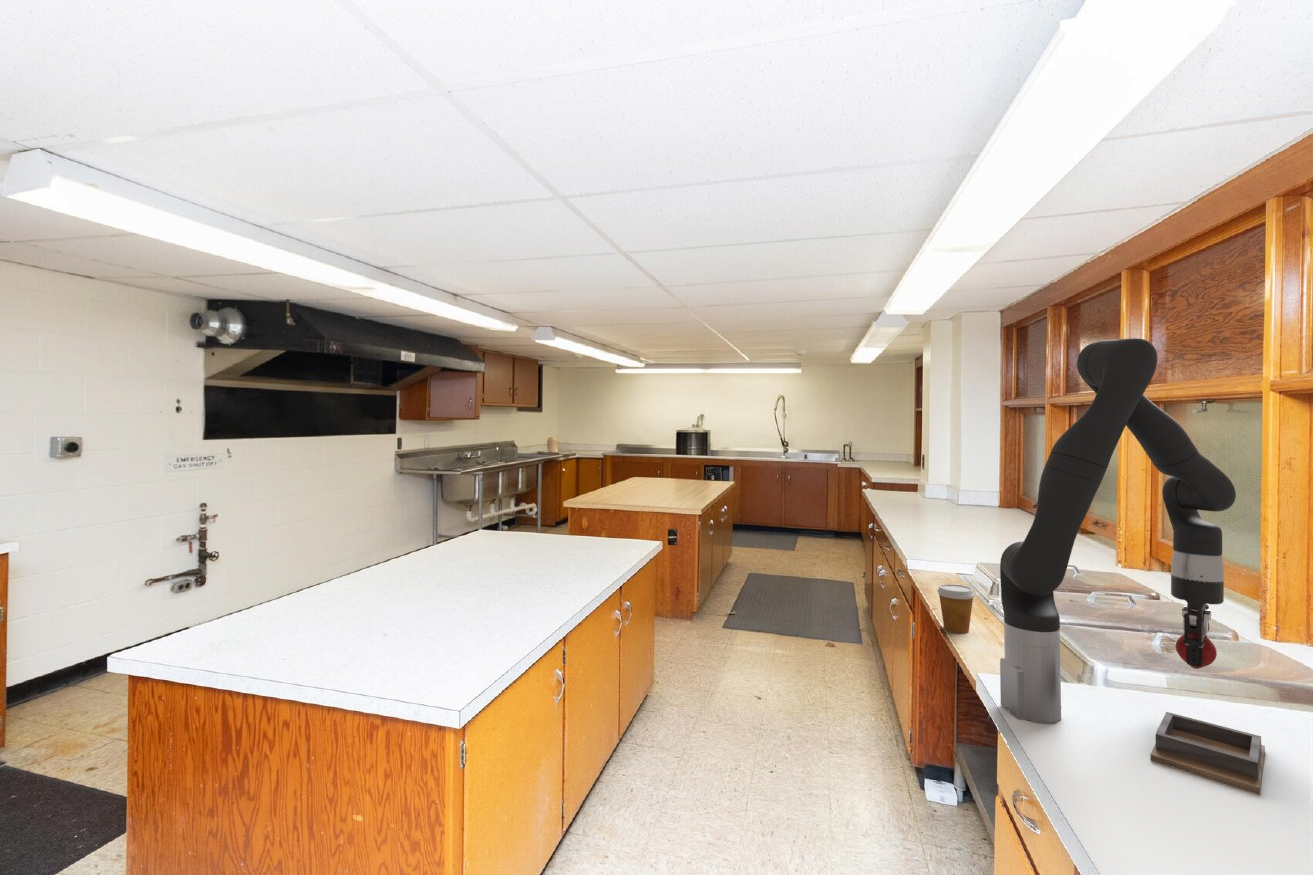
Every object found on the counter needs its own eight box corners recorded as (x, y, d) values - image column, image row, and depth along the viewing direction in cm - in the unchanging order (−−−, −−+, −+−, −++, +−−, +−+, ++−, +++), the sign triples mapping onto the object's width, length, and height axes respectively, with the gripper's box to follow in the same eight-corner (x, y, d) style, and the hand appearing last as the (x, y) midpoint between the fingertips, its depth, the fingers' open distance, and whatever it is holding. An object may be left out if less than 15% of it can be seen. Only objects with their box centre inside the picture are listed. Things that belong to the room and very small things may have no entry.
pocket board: (1260, 794, 86) (1259, 771, 86) (1150, 760, 95) (1150, 739, 95) (1264, 751, 98) (1264, 731, 98) (1166, 724, 107) (1166, 706, 107)
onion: (1224, 676, 108) (1225, 633, 108) (1189, 673, 109) (1190, 631, 109) (1201, 664, 114) (1202, 624, 114) (1168, 661, 115) (1168, 622, 115)
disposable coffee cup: (976, 628, 164) (975, 586, 164) (974, 637, 156) (973, 593, 156) (939, 622, 169) (939, 582, 169) (935, 631, 161) (935, 589, 161)
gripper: (1221, 585, 104) (1220, 677, 104) (1226, 573, 114) (1225, 658, 114) (1166, 577, 110) (1165, 665, 110) (1175, 567, 119) (1174, 647, 119)
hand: (1196, 661), depth 112 cm, fingers closed on onion, 6 cm apart
